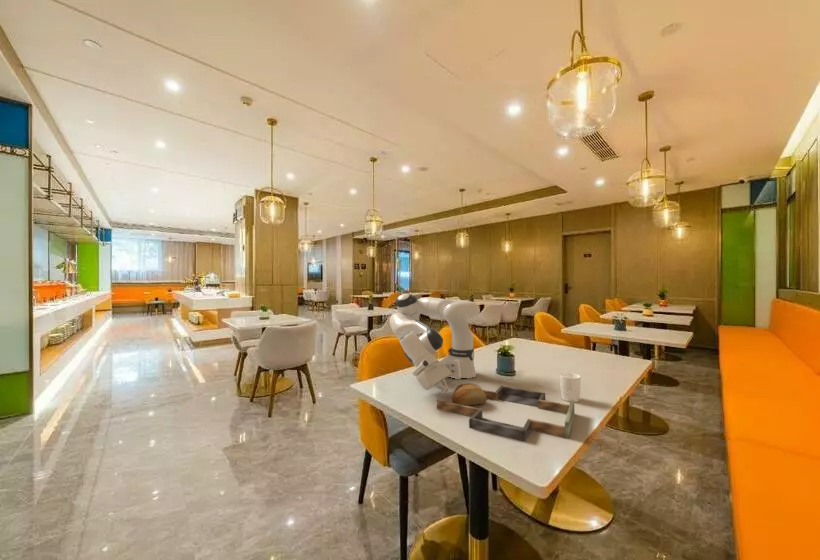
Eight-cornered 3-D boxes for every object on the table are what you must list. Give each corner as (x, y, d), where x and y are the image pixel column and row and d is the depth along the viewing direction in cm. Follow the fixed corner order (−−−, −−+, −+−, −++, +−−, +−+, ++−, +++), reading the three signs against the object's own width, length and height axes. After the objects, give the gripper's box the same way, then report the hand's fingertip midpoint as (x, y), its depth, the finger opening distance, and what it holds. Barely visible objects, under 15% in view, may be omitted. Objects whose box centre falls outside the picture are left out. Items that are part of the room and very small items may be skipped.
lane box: (425, 417, 117) (425, 403, 117) (465, 386, 150) (465, 375, 150) (566, 451, 93) (566, 434, 93) (576, 405, 126) (576, 393, 126)
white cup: (576, 396, 136) (575, 372, 136) (584, 403, 129) (584, 378, 129) (557, 395, 137) (556, 372, 137) (564, 402, 129) (563, 378, 129)
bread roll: (447, 402, 131) (446, 383, 131) (478, 397, 136) (478, 379, 136) (458, 411, 122) (458, 390, 122) (491, 406, 127) (491, 386, 127)
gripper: (432, 362, 147) (451, 388, 142) (409, 374, 130) (430, 403, 125) (441, 354, 145) (461, 380, 140) (419, 365, 127) (441, 394, 122)
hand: (446, 391), depth 132 cm, fingers closed
